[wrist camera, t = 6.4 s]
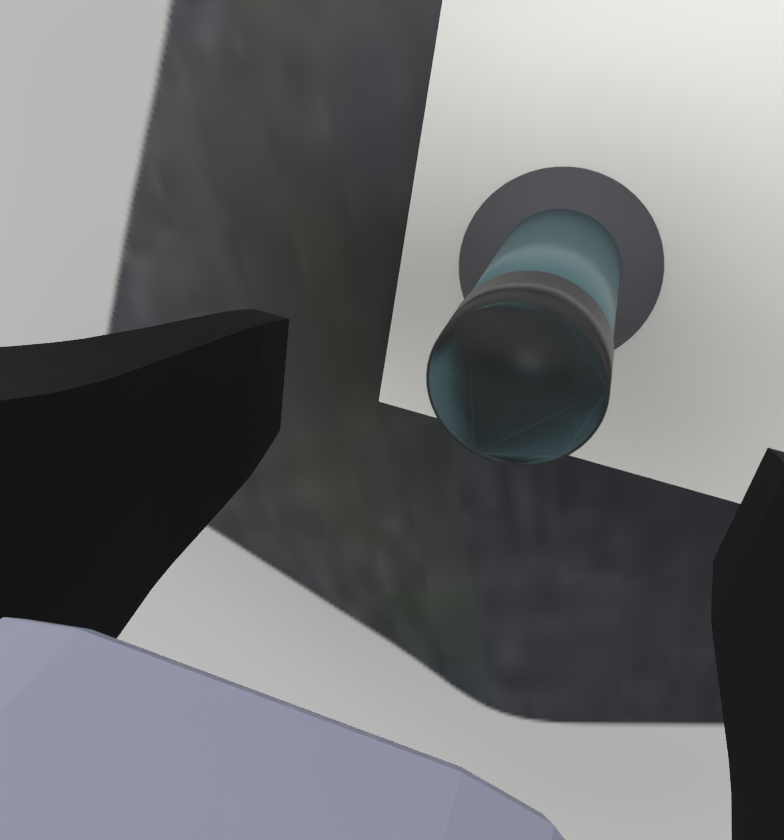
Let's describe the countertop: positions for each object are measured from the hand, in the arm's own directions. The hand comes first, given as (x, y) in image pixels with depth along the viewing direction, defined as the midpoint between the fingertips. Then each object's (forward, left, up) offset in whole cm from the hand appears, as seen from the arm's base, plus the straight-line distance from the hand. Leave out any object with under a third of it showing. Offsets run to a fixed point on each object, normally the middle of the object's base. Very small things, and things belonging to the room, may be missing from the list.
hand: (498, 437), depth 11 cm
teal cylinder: (0, 0, -9) cm, 9 cm away
